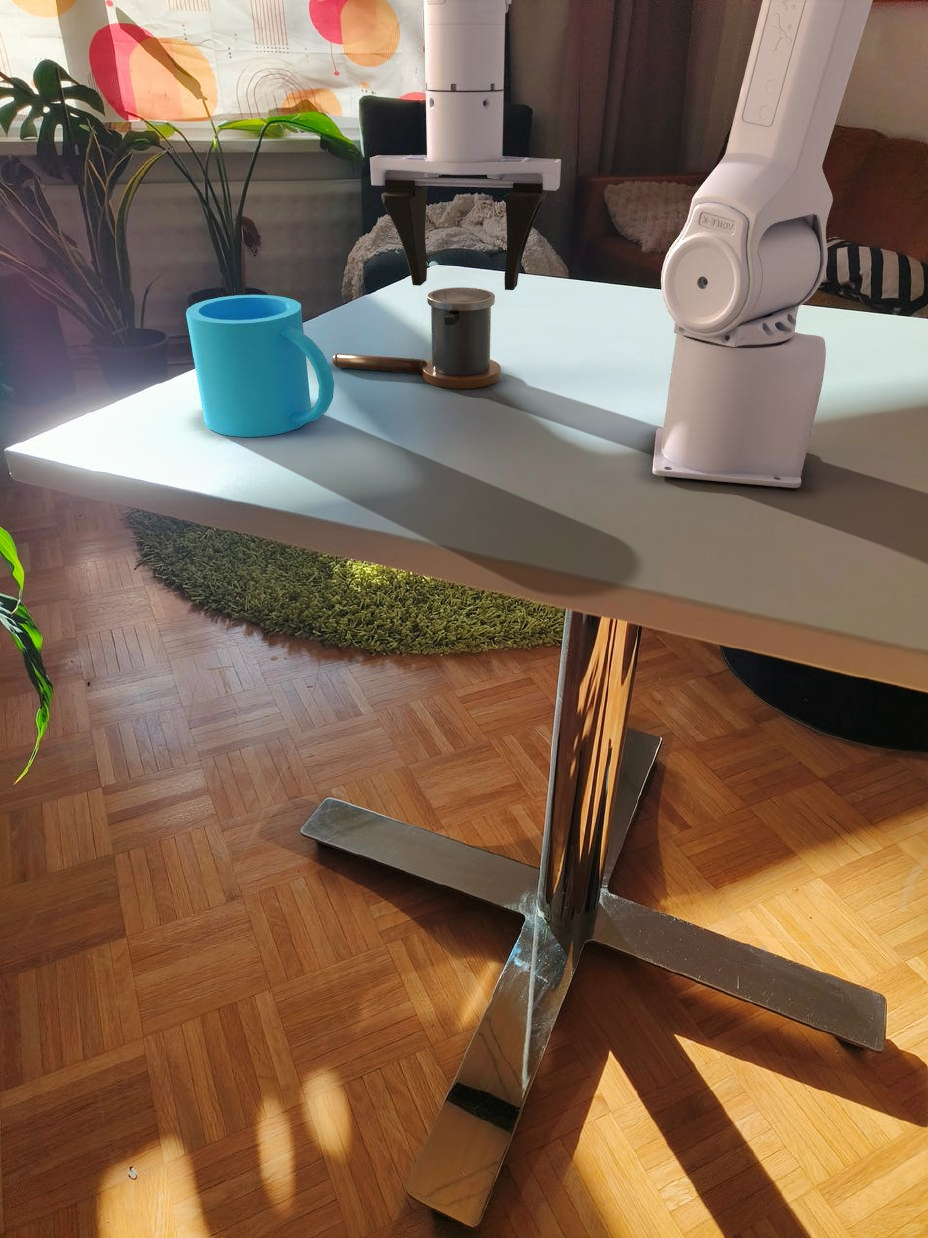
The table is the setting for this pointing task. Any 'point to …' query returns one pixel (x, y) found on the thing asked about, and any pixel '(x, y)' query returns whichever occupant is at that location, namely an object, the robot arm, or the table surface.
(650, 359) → the table surface
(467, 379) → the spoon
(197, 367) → the mug
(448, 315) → the pot
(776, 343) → the robot arm
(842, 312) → the table surface
